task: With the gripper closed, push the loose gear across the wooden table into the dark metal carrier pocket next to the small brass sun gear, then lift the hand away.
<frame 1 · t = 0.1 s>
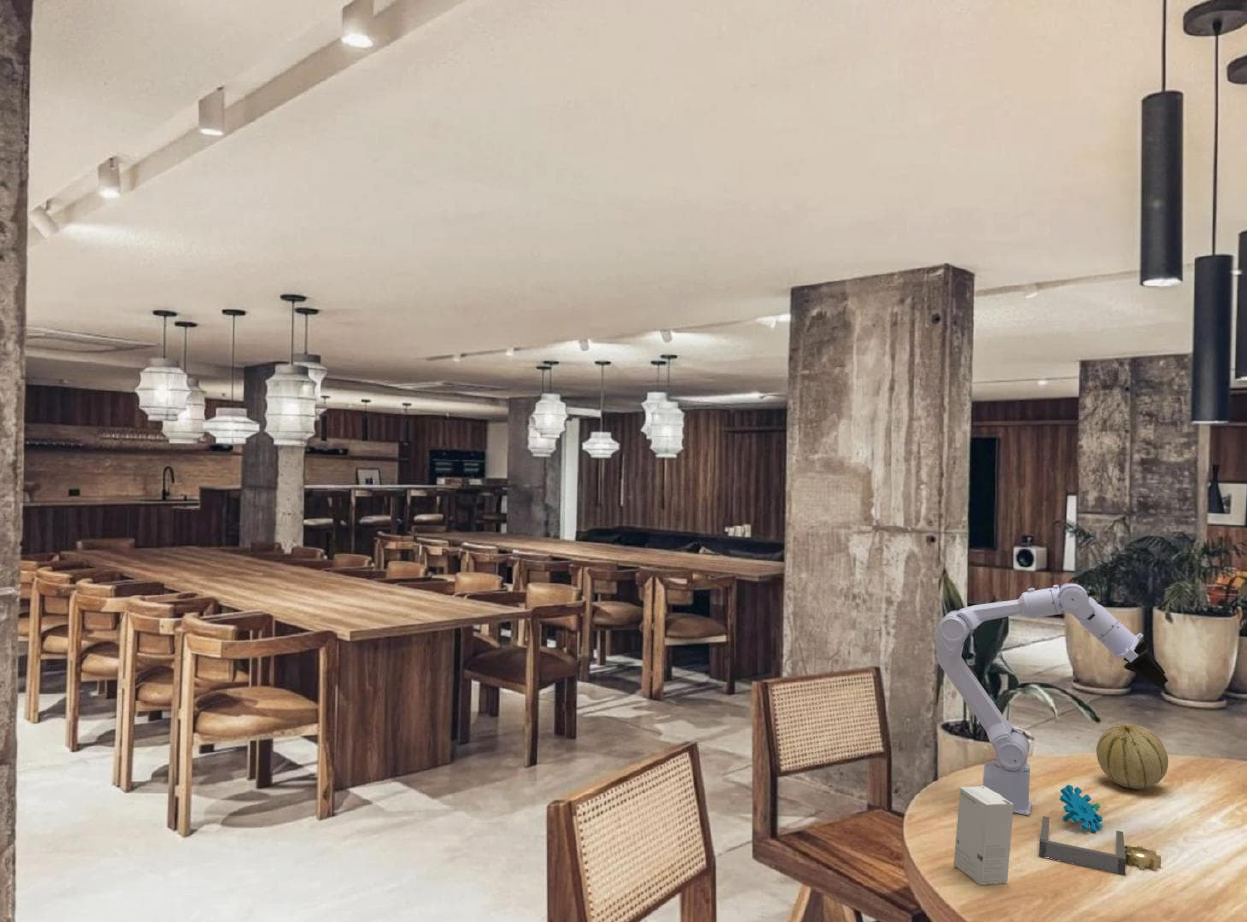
hand: (1162, 679, 182), 32 cm above the table, tool tilted 50°, fingers open, 7 cm apart
gear: (1081, 827, 186), on the table
carrier pocket: (1081, 850, 174), on the table
skincare box: (981, 876, 162), on the table
cantaloupe: (1130, 787, 211), on the table
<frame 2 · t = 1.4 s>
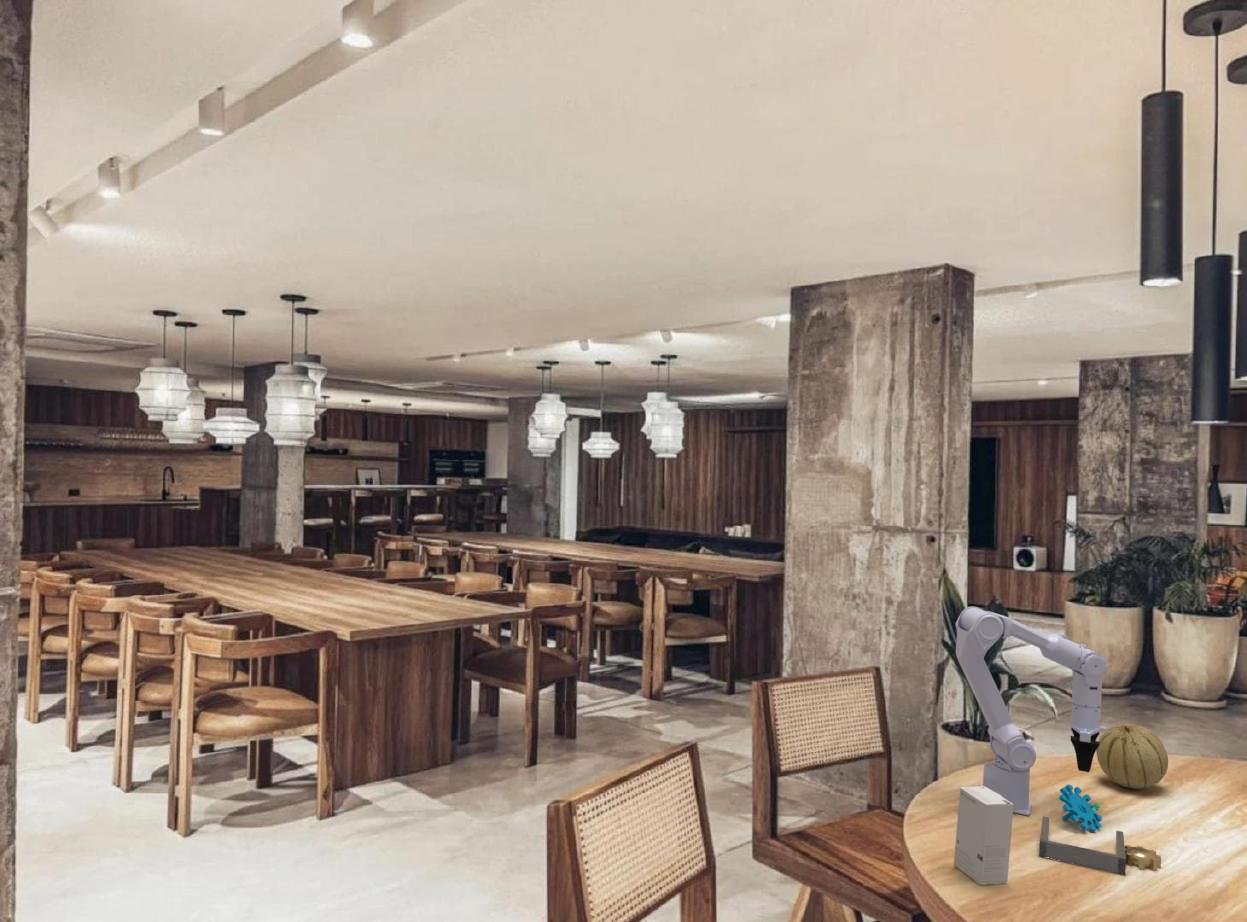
hand: (1084, 766, 195), 9 cm above the table, tool pointing down, fingers open, 6 cm apart
nothing on the table moved.
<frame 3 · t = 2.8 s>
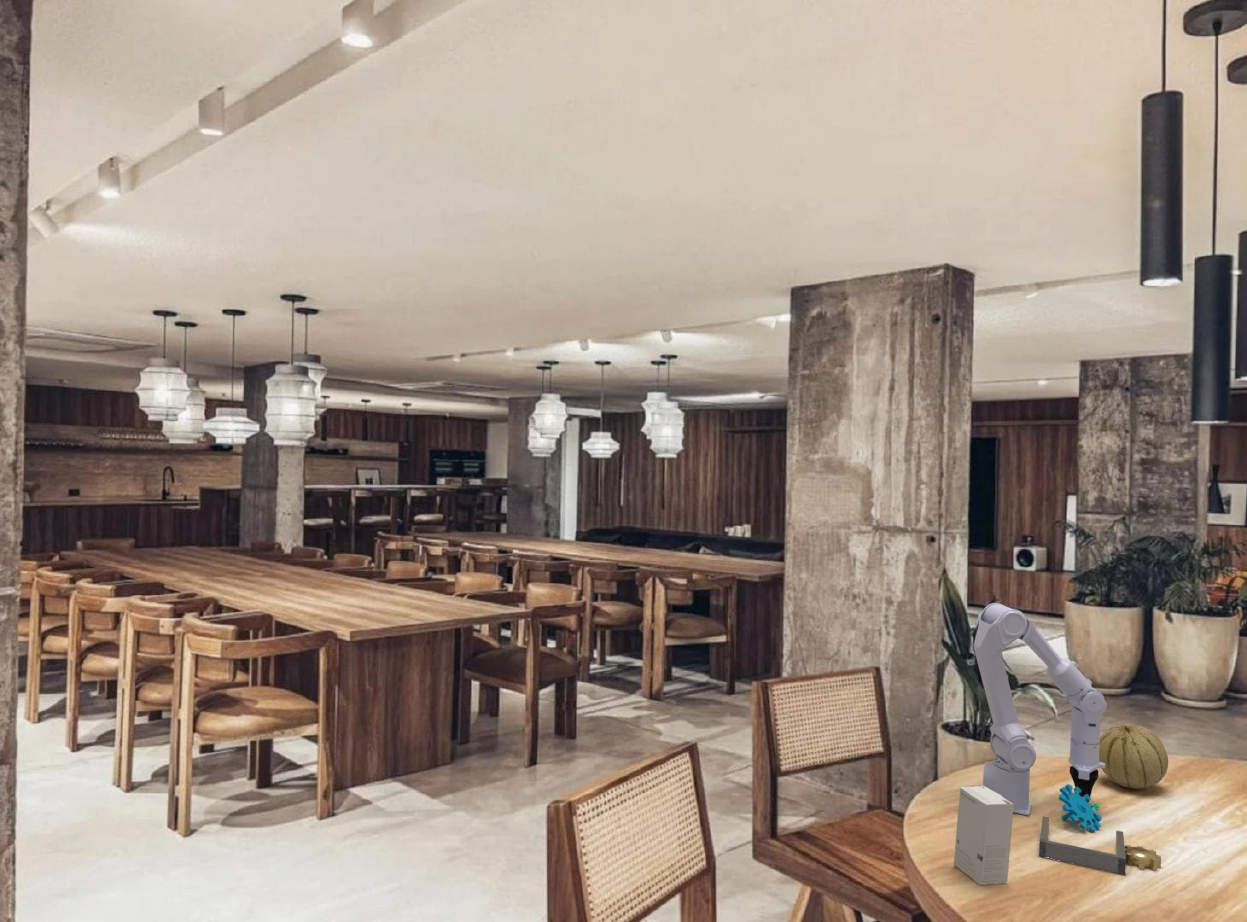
hand: (1082, 802, 195), 1 cm above the table, tool pointing down, fingers closed
nothing on the table moved.
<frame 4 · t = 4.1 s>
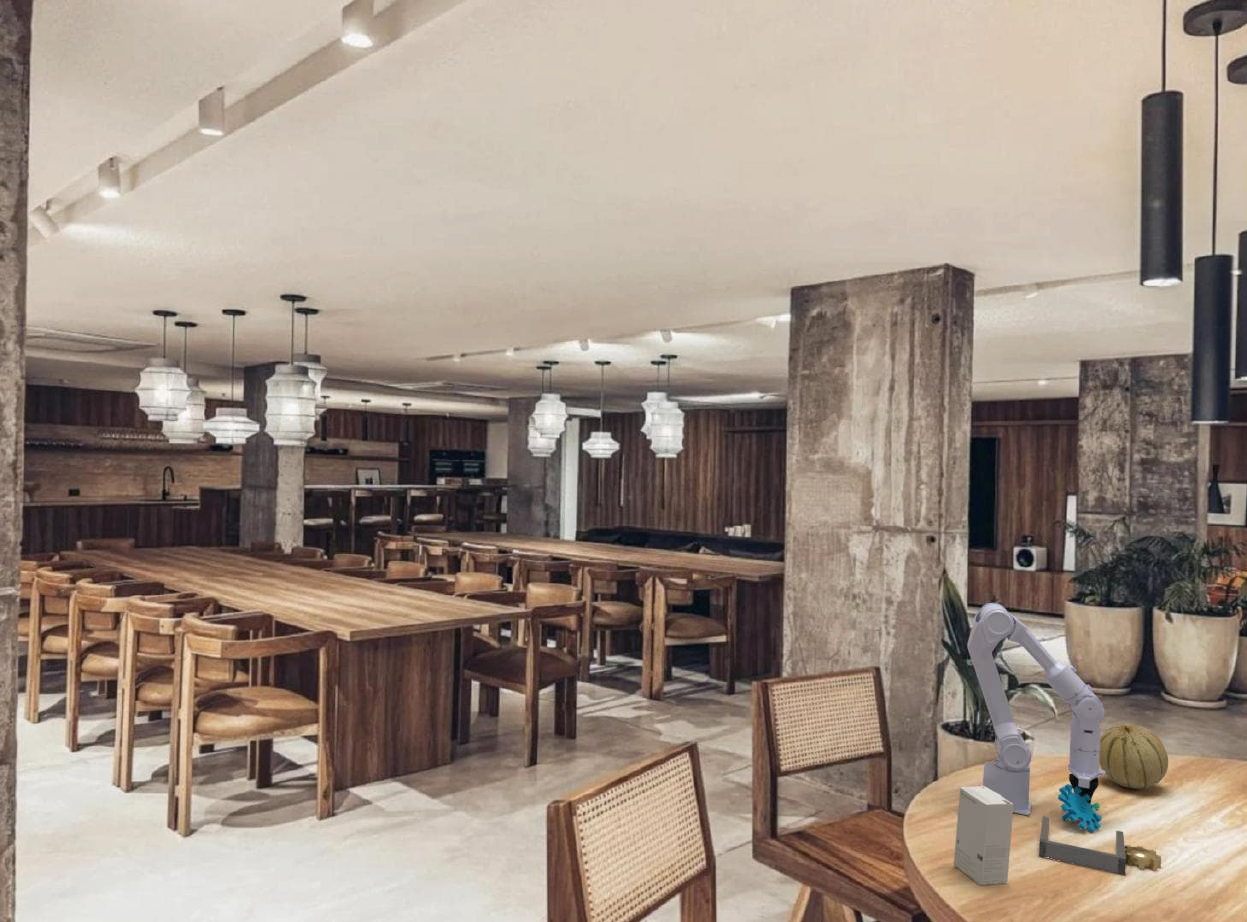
hand: (1082, 811, 191), 1 cm above the table, tool pointing down, fingers closed
gear: (1080, 826, 186), on the table, touching gripper
everything else where it was.
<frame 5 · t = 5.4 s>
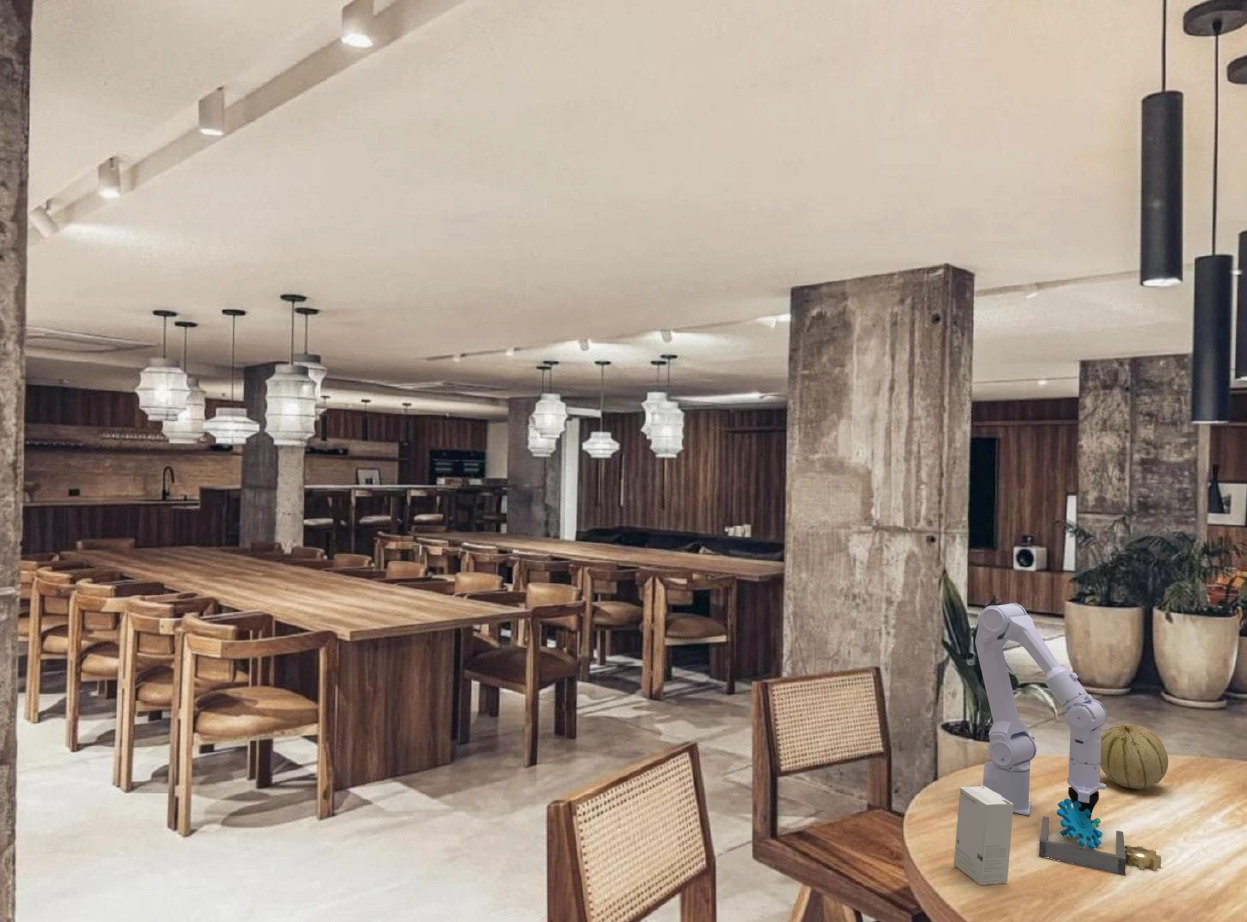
hand: (1082, 826, 183), 1 cm above the table, tool pointing down, fingers closed
gear: (1080, 842, 178), on the table, touching gripper
everything else where it was.
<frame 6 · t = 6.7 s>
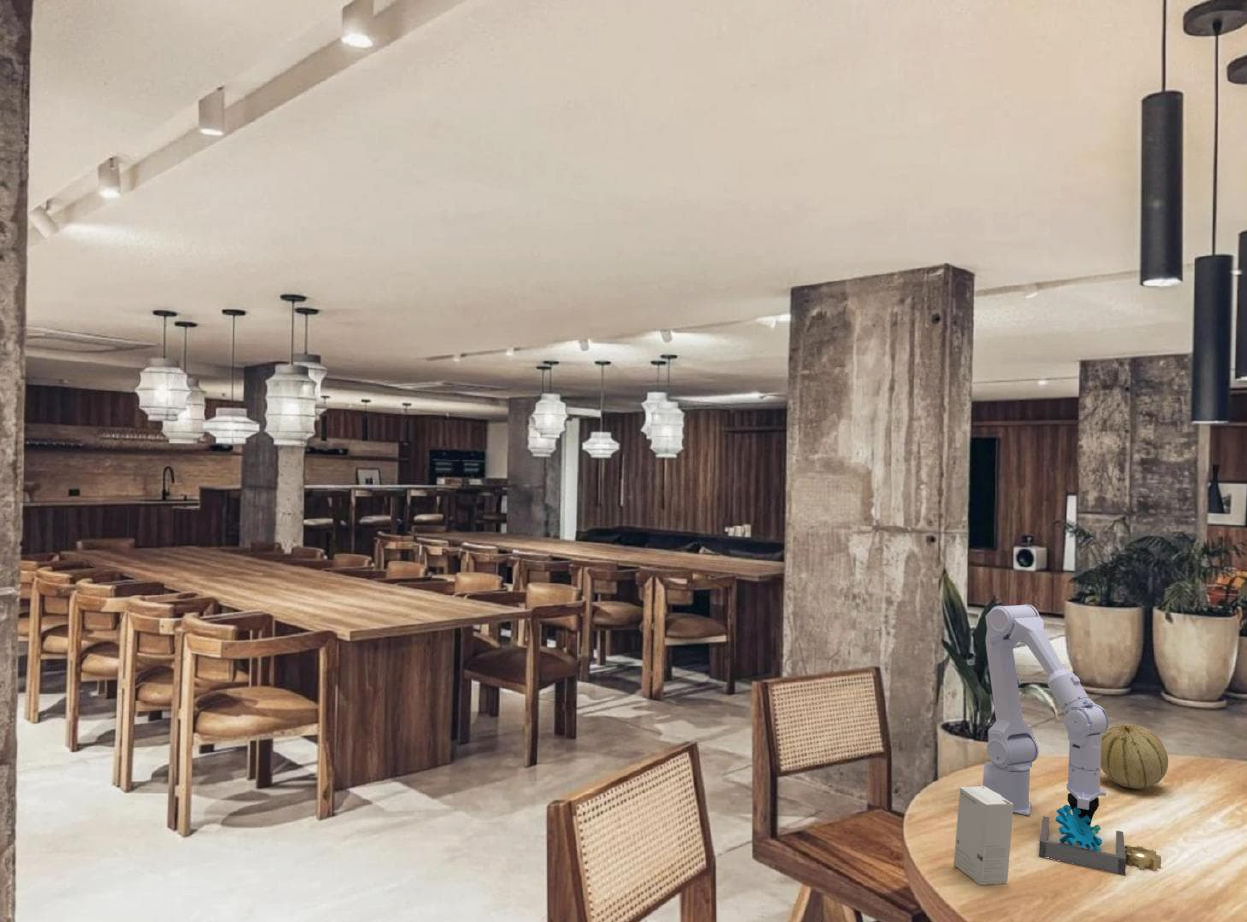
hand: (1081, 833, 179), 1 cm above the table, tool pointing down, fingers closed
gear: (1079, 850, 174), on the table, touching gripper
everything else where it was.
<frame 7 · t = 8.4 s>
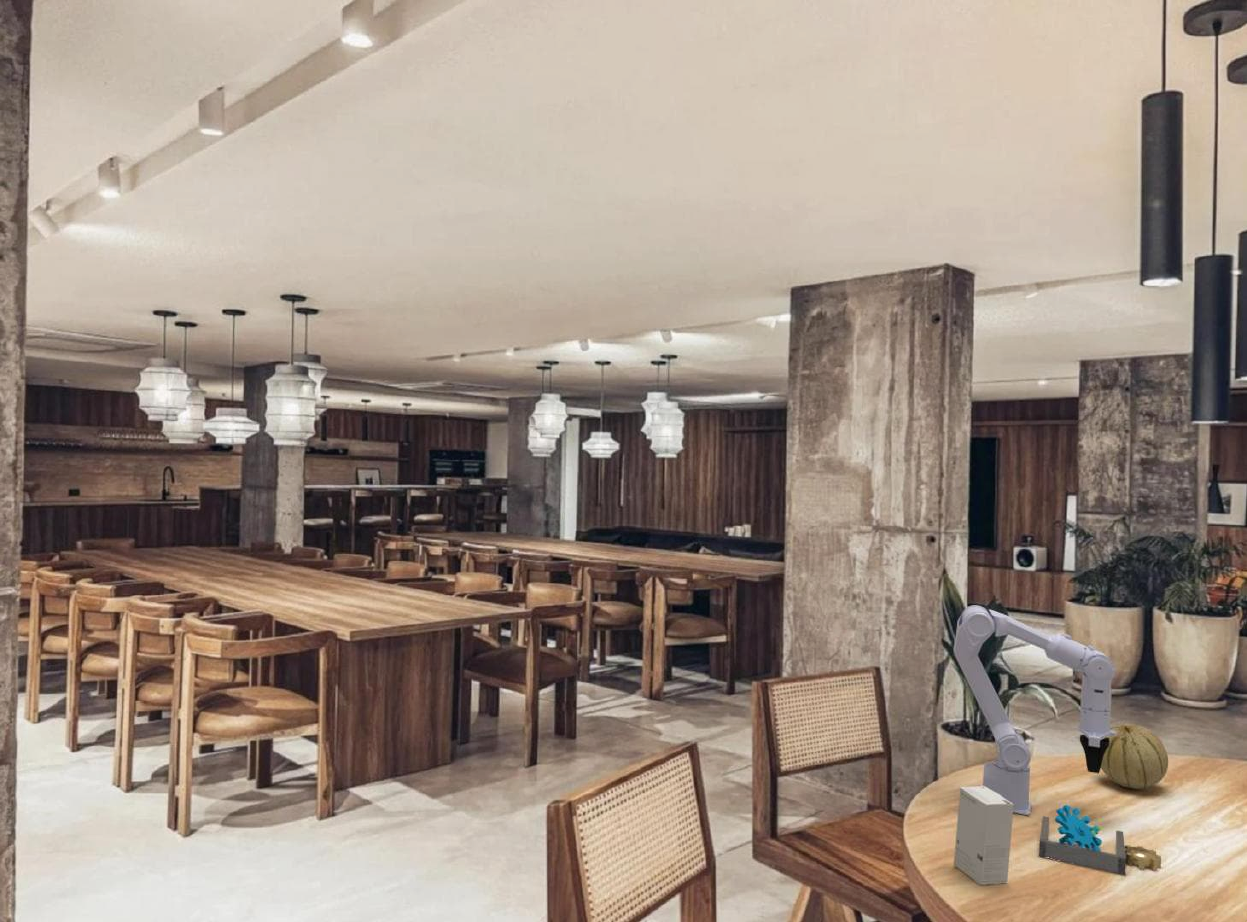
hand: (1093, 771, 190), 10 cm above the table, tool pointing down, fingers closed
gear: (1079, 850, 174), on the table
everything else where it was.
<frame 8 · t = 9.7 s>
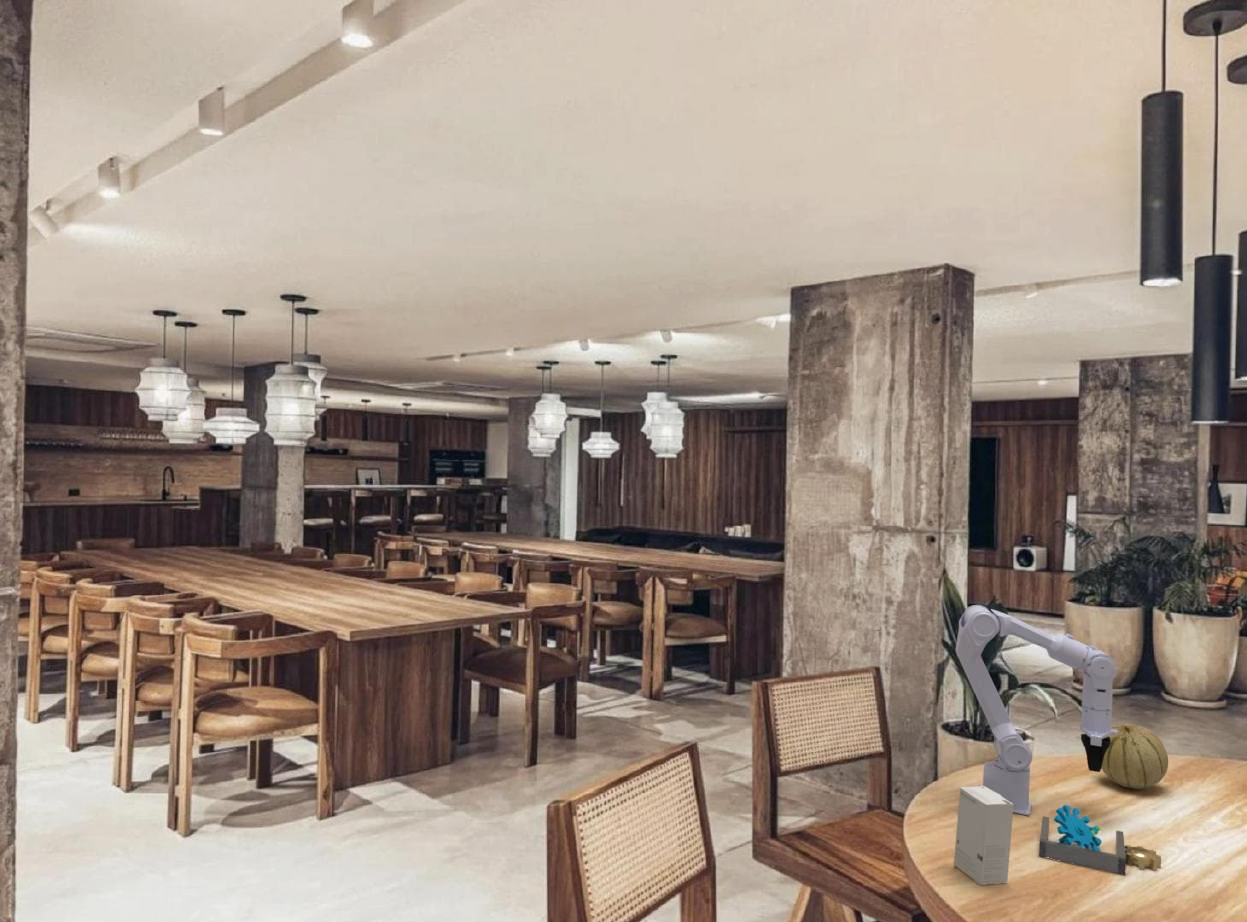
hand: (1094, 770, 191), 10 cm above the table, tool pointing down, fingers closed
nothing on the table moved.
at the end: gear inside the target area (1.3 cm from its centre), on the table; gear moved 13.3 cm from its start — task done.
